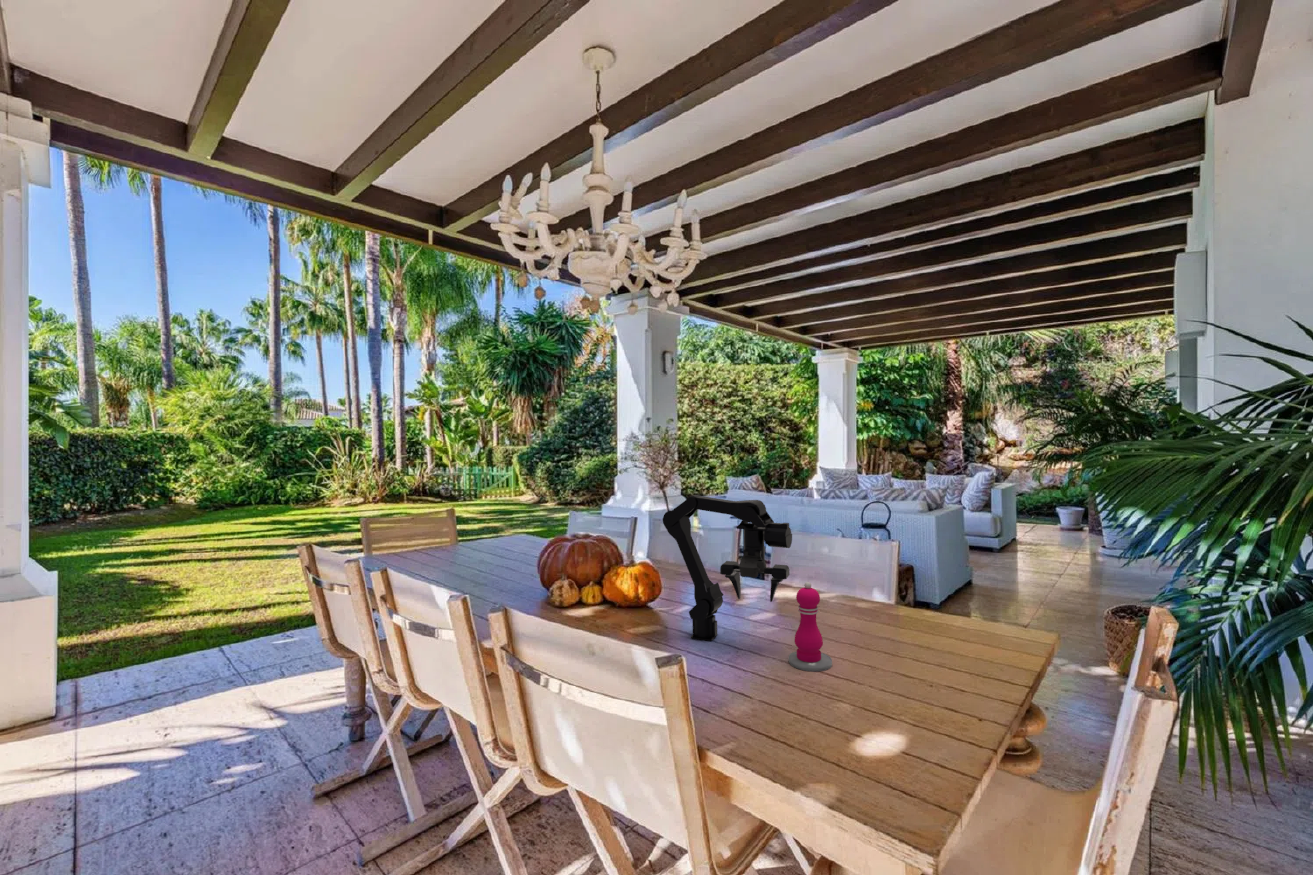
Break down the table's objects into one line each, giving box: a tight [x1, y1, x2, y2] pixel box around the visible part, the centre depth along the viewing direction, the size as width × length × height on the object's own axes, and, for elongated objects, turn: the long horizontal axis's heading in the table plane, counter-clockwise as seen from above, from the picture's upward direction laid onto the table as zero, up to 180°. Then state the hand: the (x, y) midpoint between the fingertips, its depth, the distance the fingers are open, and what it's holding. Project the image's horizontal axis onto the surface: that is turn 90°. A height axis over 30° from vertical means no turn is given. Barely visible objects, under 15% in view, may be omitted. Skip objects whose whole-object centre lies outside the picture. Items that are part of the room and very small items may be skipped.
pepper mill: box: [794, 581, 824, 662], centre depth 152 cm, size 7×7×20 cm
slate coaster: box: [788, 650, 833, 673], centre depth 152 cm, size 11×11×1 cm
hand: (755, 600), depth 165 cm, fingers open, 9 cm apart
